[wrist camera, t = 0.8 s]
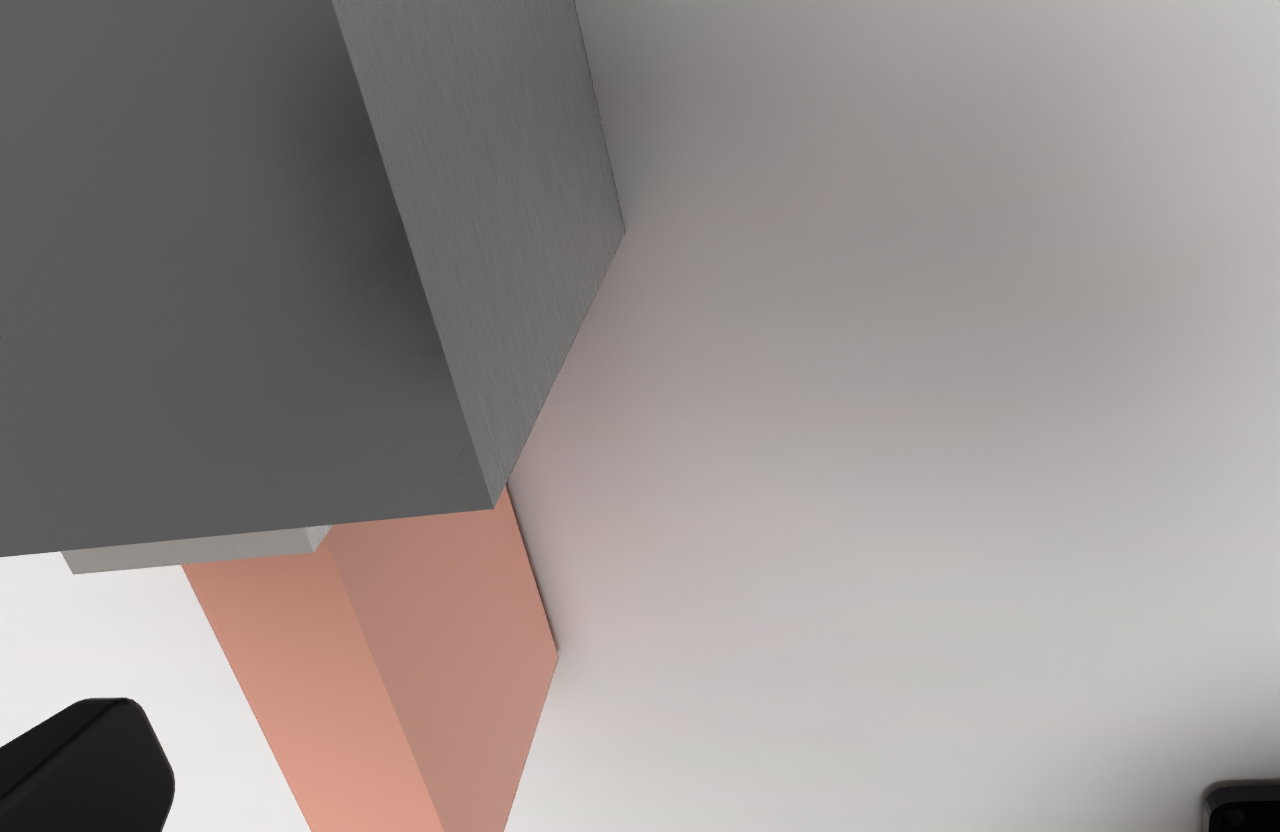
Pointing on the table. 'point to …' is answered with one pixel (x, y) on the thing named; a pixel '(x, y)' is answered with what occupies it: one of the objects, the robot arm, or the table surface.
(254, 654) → the pink ridged slab
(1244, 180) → the table surface
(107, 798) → the robot arm
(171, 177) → the dark grey block
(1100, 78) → the table surface
